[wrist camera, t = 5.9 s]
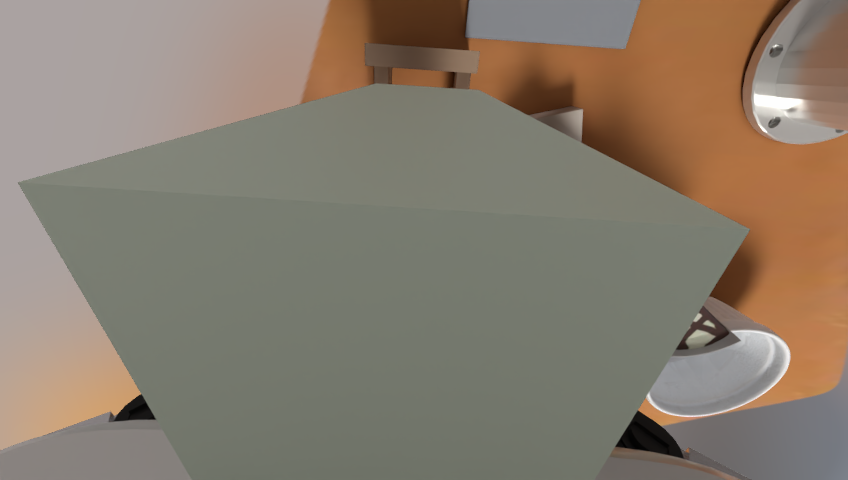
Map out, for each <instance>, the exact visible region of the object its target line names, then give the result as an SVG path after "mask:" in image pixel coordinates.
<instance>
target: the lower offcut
mask: <svg viewBox="0 0 848 480" xmlns="http://www.w3.org/2000/svg"><path fill="white" fill-rule="evenodd" d="M528 116H530V117H532V118H534V119H536V120H538V121H540V122H542V123H544V124H546V125H548V126H550V127H552V128H554V129H556V130H558V131H560V132H562V133H563V134H565V135H567V136H569V137H571V138H573V139H575V140H577V141H579V142H581V143H582V120H583V109H581V108H577V107H574V106H570V107H565V108H560V109H555V110H551V111H546V112H541V113H536V114H531V115H528Z"/></svg>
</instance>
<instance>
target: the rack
mask: <svg viewBox="0 0 848 480" xmlns="http://www.w3.org/2000/svg"><path fill="white" fill-rule="evenodd" d="M479 55H480V51H469V50H455V49H442V48H428V47H414V46H401V45H387V44H373V43H365V65H366V66H374V84H376V83H378V84H392V67H393V68H407V69H421V70H435V71H448V72H455V76H454V86H453V88H455V89H469V85H470V77H471V73H476V74H477V70H478V62H479Z"/></svg>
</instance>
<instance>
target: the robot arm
mask: <svg viewBox="0 0 848 480" xmlns="http://www.w3.org/2000/svg"><path fill="white" fill-rule="evenodd" d="M743 107H744V110H745V114H746V117H747V119H748V121H749V122H750V124H751V126H752V127H753V128H754V129H755V130H756V131H757V132H759V133H760V134H761V135H763V136H765V137H767V138H769V139H771V140H775V141H780V142H784V143H788V144H811V143H819V142H822V141H826V140H830V139H833V138H836V137H839V136H841V135H844V134H846V133H848V0H790V2H789V3H788V4H787V5H786V6H785V7H784V8H783V9H782V11H781V12H780V13H779V14H778V15H777V16H776V17H775V19H774V20H773V21H772V23H771V24H770V26H769V27H768V29H767V30H766V31H765V33H764V34H763V36H762V37H761V39H760V41H759V43H758V45H757V47H756V49H755V51H754V53H753V54H752V57H751V60H750V62H749V65H748V68H747V71H746V74H745V79H744V85H743ZM0 480H191V478H190V476H189V474H188V473H187V471H186V469H185V468H184V466H183V464H182V462H181V461H180V459H179V457H178V456H177V454H176V452H175V450H174V449H173V447H172V445H171V444H170V442H169V440H168V438H167V437H166V435H165V433H164V432H163V430H162V428H161V427H160V425H159V423H158V421H157V420H156V418H155V416H154V415H153V413H152V411H151V409H150V408H149V406H148V404H147V403H146V401H145V399H144V397H143V396H142V394H141V395H139V396H138V397H136V398H135V399H133V400H132V401H131V402H130V403H128V404H127V405H126V406H125V407H124V408H123V409H122V410H121V411H120V412H119V413H118V415H115V416H114V415H113V414H112V413H111V412H108V413H105V414H103V415H100V416H97V417H94V418H91V419H88V420H86V421H83V422H80V423H77V424H74V425H72V426H69V427H66V428H63V429H61V430H58V431H55V432H52V433H49V434H47V435H44V436H41V437H37V438H34V439H30V440H28V441H25V442H22V443H19V444H16V445H13V446H11V447H8V448H5V449H3V450H0ZM595 480H751V479H749V478H747V477H745V476H743V475H741V474H739V473H737V472H735V471H734V470H732V469H730V468H728V467H726V466H724V465H722V464H720V463H718V462H716V461H714V460H712V459H710V458H709V457H707V456H705V455H703V454H701V453H699V452H697V451H695V450H693V449H691V448H688V449H687V450H686V451H684V450H682V449H680V447H679V446H678V444H677V443H676V441H675V440H674V439H673V437H672V436H671V435H670V434H669V433H668V432H667V431H666V430H665V429H664V428H662V427H661V426H660V425H659V424H657V423H656V422H655V421H653V420H652V419H650V418H648V417H647V416H645V415H644V414H642V413H641V412H639V411H637V412H636V414H635V415H634V417H633V419H632V420H631V422H630V423H629V425H628V427H627V428H626V430H625V431H624V433H623V435H622V436H621V438H620V439H619V441H618V443H617V444H616V446H615V448H614V449H613V451H612V452H611V454H610V456H609V457H608V459H607V460H606V462H605V464H604V465H603V467H602V468H601V470H600V472H599V473H598V475H597V476H596V478H595Z"/></svg>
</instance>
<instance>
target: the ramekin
mask: <svg viewBox="0 0 848 480" xmlns="http://www.w3.org/2000/svg"><path fill="white" fill-rule="evenodd" d="M703 306H704V307H705V308H706V309H707V310H708V311H709V312H710V313H711V314H712V315H713V316H714V317H715V318H717V319H718V320H719V321H720V322H721V323H722V324H723V325H724V326H726V327H727V328H728V329H729V330H730V331H731V332H732V333H733V334H735V335H736V336H737V337H738V338H739V339H740V340H741V342H738V343H736V344H734V345H732V346H730V347H727V348H724V349H722V350H719V351H716V352H712V353H709V354H704V355H699V356H692V357H671V358H670V359H669V361H668V362H667V364H666V366H665V367H664V369H663V370H662V372H661V374H660V375H659V377H658V378H657V380H656V382H655V383H654V385H653V386H652V388H651V390H650V391H649V393H648V395H647V396H646V398H647V400H648V401H649V402H650V403H651V405H653V406H654V407H655V408H656V409H658V410H660V411H662V412H664V413H666V414H670V415H675V416H683V417H698V416H707V415H713V414H718V413H722V412H725V411H729V410H732V409H735V408H737V407H740V406H742V405H744V404H747V403H749V402H751V401H753V400H754V399H756V398H758V397H759V396H761V395H763V394H764V393H765V392H767V391H768V390H769V389H771V388H772V387H773V386H774V385H775V384H776V383H777V382H778V381H779V380H780V379H781V378H782V376H783V375H784V374H785V372H786V370H787V368H788V366H789V363H790V350H789V348H788V346H787V344H786V343H785V341H784V340H783V339H782V338H780V337H779V336H778V335H777V334H776V333H775V332H773V331H772V330H771V329H769V328H768V327H766V326H764V325H762V324H759V323H756V322H754V321H753V320H751V319H750V318H748V317H747V316H745V315H743V314H742V313H740V312H739V311H737V310H735V309H734V308H732V307H730V306H729V305H727V304H725V303H723V302H722V301H720V300H717V299H716V298H713V297H710V296H709V297H708V298H707V300H706V301H705V303H704V305H703Z"/></svg>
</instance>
